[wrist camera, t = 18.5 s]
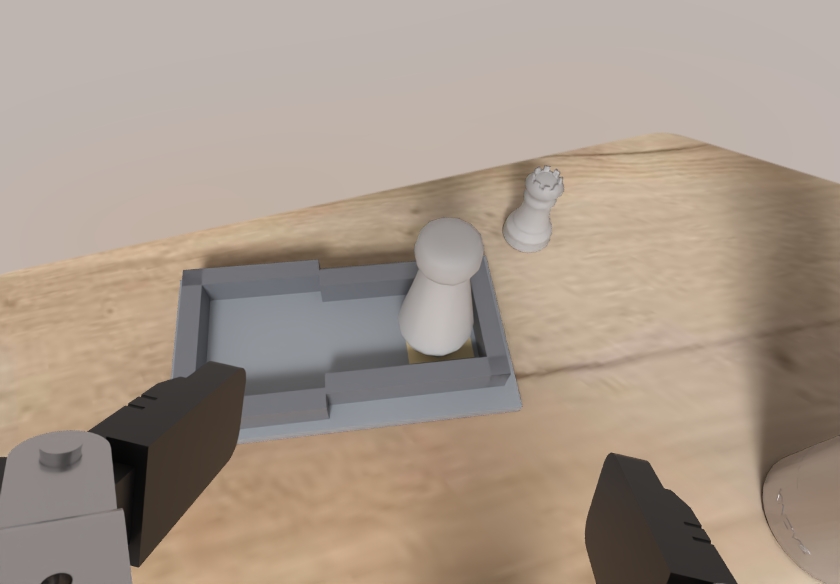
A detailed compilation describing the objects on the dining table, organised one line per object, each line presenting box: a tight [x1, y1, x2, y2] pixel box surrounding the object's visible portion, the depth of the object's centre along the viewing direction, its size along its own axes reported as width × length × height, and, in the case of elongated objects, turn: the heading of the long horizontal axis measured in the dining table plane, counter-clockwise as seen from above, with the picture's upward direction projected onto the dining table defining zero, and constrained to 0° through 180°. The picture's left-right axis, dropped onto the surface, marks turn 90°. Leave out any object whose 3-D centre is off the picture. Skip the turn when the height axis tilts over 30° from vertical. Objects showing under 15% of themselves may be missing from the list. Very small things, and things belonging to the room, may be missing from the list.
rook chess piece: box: [503, 166, 564, 253], centre depth 48 cm, size 4×4×8 cm
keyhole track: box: [171, 255, 522, 444], centre depth 43 cm, size 26×14×4 cm, turn 98°
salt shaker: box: [398, 217, 484, 358], centre depth 39 cm, size 6×6×13 cm
